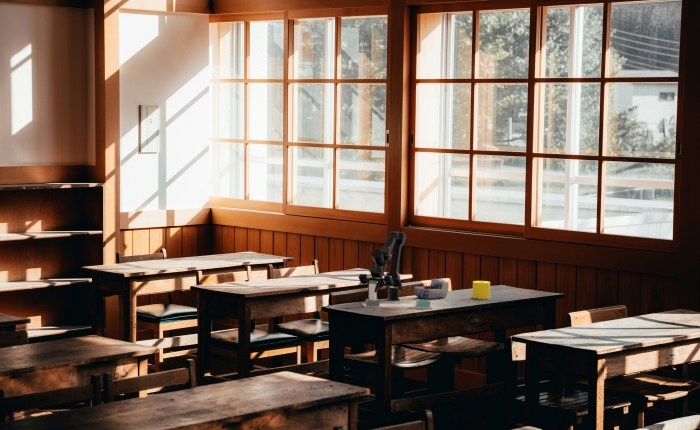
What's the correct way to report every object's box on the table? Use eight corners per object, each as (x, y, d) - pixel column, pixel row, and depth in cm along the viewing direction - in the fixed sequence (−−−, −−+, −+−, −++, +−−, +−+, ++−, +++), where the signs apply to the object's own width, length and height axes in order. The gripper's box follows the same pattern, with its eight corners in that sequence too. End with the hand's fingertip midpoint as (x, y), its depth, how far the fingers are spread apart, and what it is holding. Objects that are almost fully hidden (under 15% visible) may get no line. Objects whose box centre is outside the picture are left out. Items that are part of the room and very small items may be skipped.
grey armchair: (451, 279, 617) (427, 282, 604) (451, 297, 618) (426, 301, 605) (435, 277, 627) (411, 280, 614) (434, 295, 628) (410, 298, 615)
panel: (362, 305, 581) (362, 297, 580) (429, 305, 584) (429, 298, 583) (364, 308, 569) (364, 300, 568) (432, 308, 572) (432, 301, 571)
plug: (370, 302, 576) (371, 280, 575) (376, 302, 575) (376, 280, 574) (368, 302, 573) (369, 280, 572) (374, 303, 572) (374, 281, 571)
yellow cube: (491, 297, 623) (492, 281, 622) (486, 299, 614) (487, 283, 613) (475, 296, 627) (476, 280, 626) (470, 298, 618) (470, 282, 617)
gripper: (360, 259, 580) (352, 281, 570) (392, 261, 573) (384, 283, 563) (365, 272, 587) (357, 294, 578) (396, 274, 580) (389, 296, 571)
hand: (371, 291), depth 572 cm, fingers closed on plug, 3 cm apart
